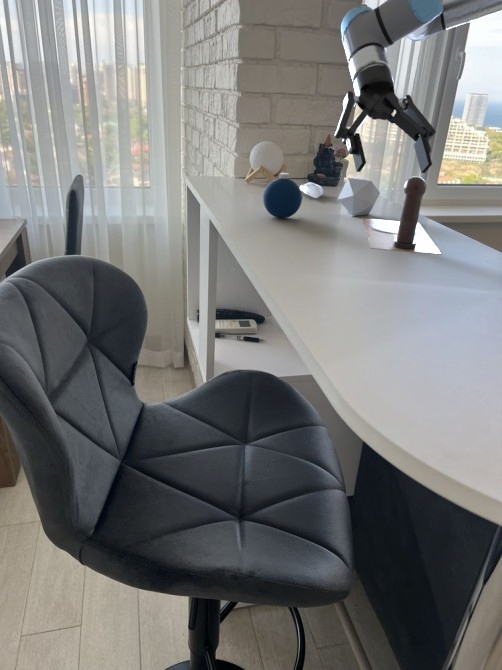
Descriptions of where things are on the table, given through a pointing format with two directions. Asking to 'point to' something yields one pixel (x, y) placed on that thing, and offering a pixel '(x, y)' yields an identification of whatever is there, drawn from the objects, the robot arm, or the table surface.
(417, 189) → the dot stamp
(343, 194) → the die
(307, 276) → the table surface
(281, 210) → the christmas ornament
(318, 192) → the pincushion
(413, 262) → the table surface
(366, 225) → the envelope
